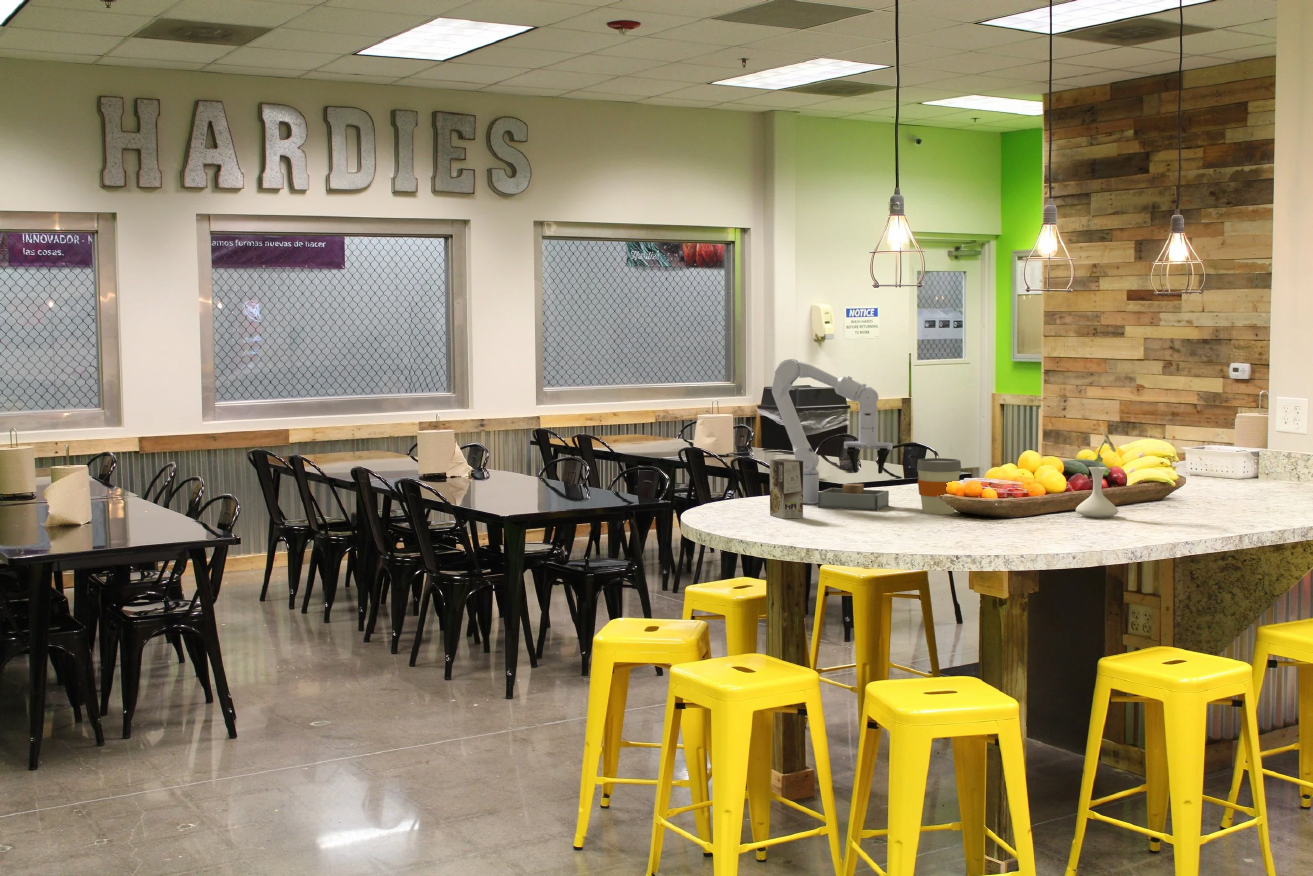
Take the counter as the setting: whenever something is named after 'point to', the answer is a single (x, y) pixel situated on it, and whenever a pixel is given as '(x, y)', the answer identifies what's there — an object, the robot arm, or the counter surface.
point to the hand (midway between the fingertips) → (867, 472)
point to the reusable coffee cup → (936, 482)
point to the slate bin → (853, 499)
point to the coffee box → (786, 488)
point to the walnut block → (853, 488)
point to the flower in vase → (1098, 490)
